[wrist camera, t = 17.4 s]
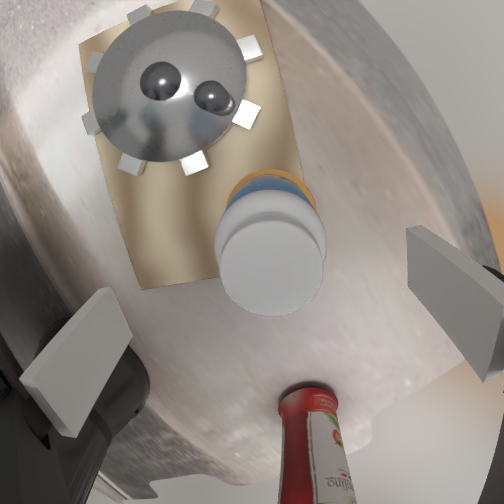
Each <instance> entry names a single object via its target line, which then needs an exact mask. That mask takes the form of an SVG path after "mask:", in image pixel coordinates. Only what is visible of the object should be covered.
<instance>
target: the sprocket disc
mask: <svg viewBox="0 0 504 504" xmlns="http://www.w3.org/2000/svg"><path fill="white" fill-rule="evenodd" d="M218 10H219V7H218V5H217V3H214V2H210V1H206V0H194V2H193V4H192V5H191V7H190V9H189V10H188V11H180V10H177V11H166V12H161V13H157V14H154V15H153V12H152V9H151V8H150V7H149V6H148V5H144V6H142V7H140V8H138V9H136V10H134V11H133V12H131V13H129V14H127V17H128V20H129V23H130V27H128V28H127V29H126V30H124V31H123V32H122V33H121V34H120V35H119V36H118V37H117V38H116V39H115V40H114V41H113V42H112V43H111V45H110V46H109V47H108V49H107V50H106V52H105V53H99V52H95V51H92V54H91V56H90V58H89V60H88V63H87V65H86V67H85V71H88V72H92V73H95V77H94V81H93V89H92V102H93V109H92V110H91V111H89V112H88V113H86V114H84V115H83V116H81V117H82V120H83V123H84V126H85V129H86V132H87V134H88V135H95V134H97V133H99V132H100V131H102V132H103V134H104V135H105V136H106V138H107V139H108V140H109V141H110V142H111V143H112V144H113V145H114V146H115V147H116V148H118V149H119V150H120V151H122V152H123V154H122V157H121V159H120V162H119V165H118V168H119V169H121V170H123V171H126V172H128V173H130V174H133V175H135V176H138V175H141V174H142V173H143V170H144V168H145V165H146V162H147V161H150V162H167V161H174V160H178V159H180V162H181V164H182V167H183V169H184V172H185V175H186V176H188V175H190V174H192V173H195V172H197V171H200V170H202V169H205V168H208V167H210V166H211V164H210V161H209V159H208V156H207V154H206V151H205V149H207V148H208V147H210V146H211V145H213V144H214V143H215V142H216V141H218V140H219V139H220V138H221V137H222V136H223V135H224V134H225V133H226V132H227V131H228V130H229V129H230V127H231V126H232V124H233V123H236V124H239V125H241V126H243V127H246V128H248V129H250V130H251V128H252V126H253V123H254V121H255V119H256V117H257V115H258V113H259V111H260V109H261V108H260V107H259V106H257V105H254V104H252V103H250V102H247V101H245V96H246V92H247V84H248V78H247V68H246V64H248V63H251V62H254V61H257V60H260V59H263V54H262V52H261V49H260V47H259V45H258V43H257V40H256V38H255V36H254V35H251V36H248V37H245V38H242V39H239V40H236V39H235V38H234V37H233V35H232V34H231V33H230V32H229V31H228V30H227V29H226V28H225V27H224V26H223V25H221V24H220V23H219V22H217V21H216V20H214V17H215V16H216V14H217V12H218Z"/></svg>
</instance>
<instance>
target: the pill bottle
mask: <svg viewBox="0 0 504 504" xmlns="http://www.w3.org/2000/svg"><path fill="white" fill-rule="evenodd" d="M214 251H215V257H216V260H217V263H218V266H219V272H220V278H221V282H222V285H223V287H224V289H225V291H226V293H227V294H228V296H229V297H230V298H231V299H232V300H233V301H234V302H235V303H236V304H237V305H238V306H240V307H241V308H243V309H245V310H247V311H248V312H251V313H254V314H257V315H262V316H281V315H286V314H289V313H292V312H294V311H297V310H298V309H300V308H302V307H303V306H305V305H306V304H307V303H308V302H309V301H310V300H311V299H312V298H313V297H314V296H315V294H316V293H317V291H318V289H319V287H320V285H321V282H322V279H323V273H324V260H325V257H326V252H327V238H326V232H325V229H324V226H323V223H322V221H321V219H320V217H319V215H318V214H317V212H316V211H315V209H314V207H313V206H312V204H311V203H310V201H309V200H308V198H307V197H306V195H305V194H304V192H303V191H302V189H301V188H300V187H299V186H298V185H297V184H296V183H294V182H293V181H292V180H290V179H288V178H286V177H284V176H281V175H276V174H263V175H259V176H256V177H253V178H251V179H250V180H248V181H247V182H245V183H244V184H243V185H241V186H240V187H239V188H238V190H237V191H236V192H235V194H234V195H233V197H232V199H231V201H230V203H229V204H228V206H227V208H226V210H225V212H224V214H223V215H222V217H221V219H220V221H219V224H218V226H217V229H216V233H215V239H214Z"/></svg>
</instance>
